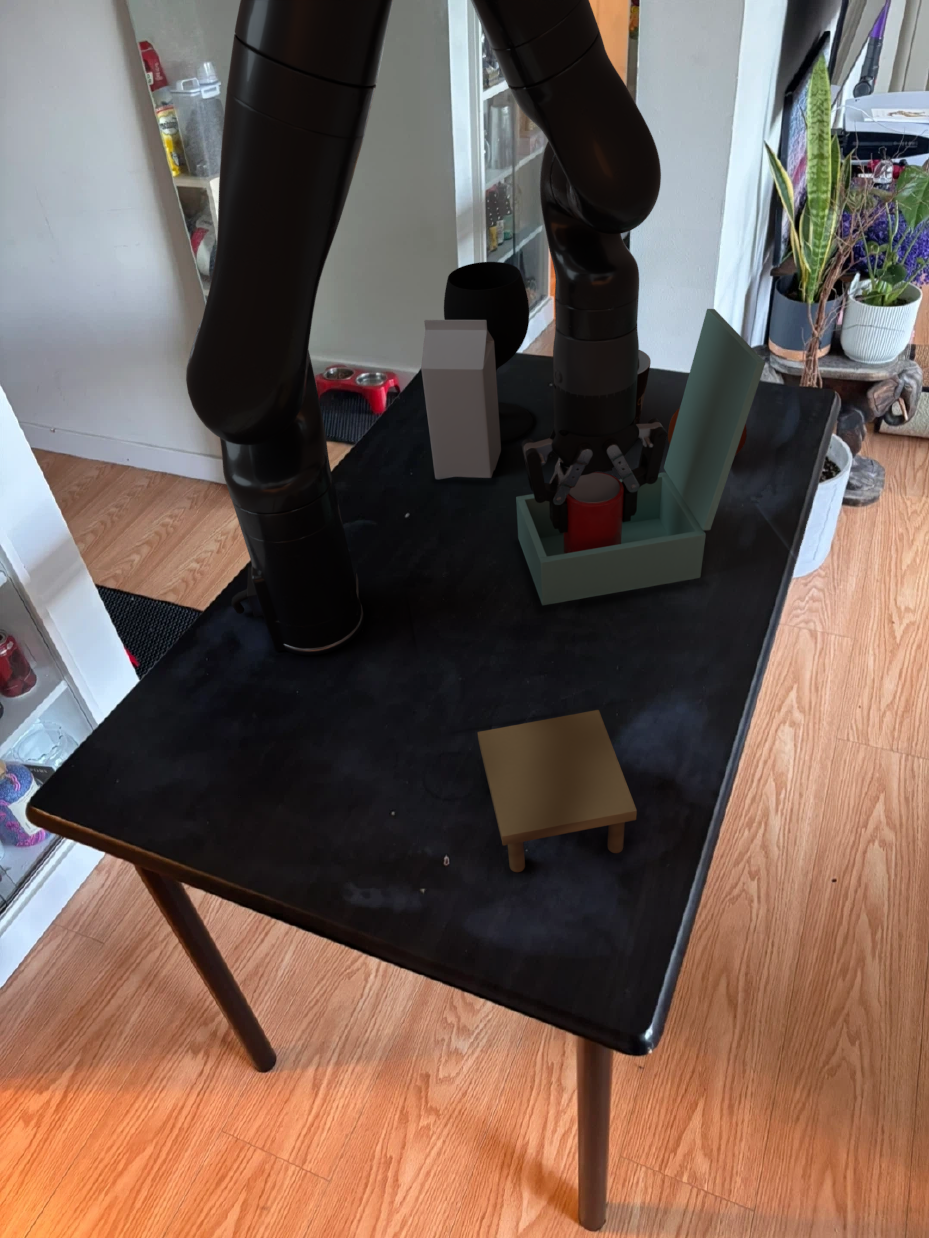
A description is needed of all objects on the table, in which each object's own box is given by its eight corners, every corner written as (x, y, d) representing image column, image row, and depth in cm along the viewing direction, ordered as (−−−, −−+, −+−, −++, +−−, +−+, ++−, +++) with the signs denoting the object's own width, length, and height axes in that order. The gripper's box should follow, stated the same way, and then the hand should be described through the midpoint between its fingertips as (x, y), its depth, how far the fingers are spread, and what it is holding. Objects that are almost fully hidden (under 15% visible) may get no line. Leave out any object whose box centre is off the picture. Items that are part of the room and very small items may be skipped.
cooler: (542, 610, 89) (540, 562, 84) (518, 543, 97) (515, 496, 93) (699, 583, 90) (706, 534, 85) (662, 518, 98) (666, 471, 94)
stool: (506, 881, 66) (501, 836, 62) (482, 777, 74) (477, 731, 70) (633, 856, 67) (637, 810, 63) (597, 755, 74) (598, 709, 70)
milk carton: (491, 483, 106) (480, 334, 94) (435, 480, 108) (416, 334, 95) (501, 452, 111) (492, 307, 99) (447, 450, 113) (431, 307, 100)
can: (571, 581, 90) (571, 509, 84) (557, 547, 95) (556, 476, 89) (627, 571, 91) (631, 499, 85) (611, 537, 95) (613, 466, 89)
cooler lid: (757, 362, 74) (766, 362, 74) (706, 308, 82) (714, 308, 82) (702, 530, 85) (710, 530, 85) (663, 468, 94) (670, 467, 94)
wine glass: (446, 415, 119) (430, 269, 106) (517, 399, 121) (510, 253, 108) (469, 452, 112) (454, 300, 99) (544, 434, 114) (540, 282, 100)
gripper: (659, 342, 82) (648, 491, 93) (508, 365, 81) (516, 514, 92) (687, 378, 76) (672, 532, 87) (526, 404, 75) (532, 556, 86)
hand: (592, 522), depth 90 cm, fingers closed on can, 6 cm apart
